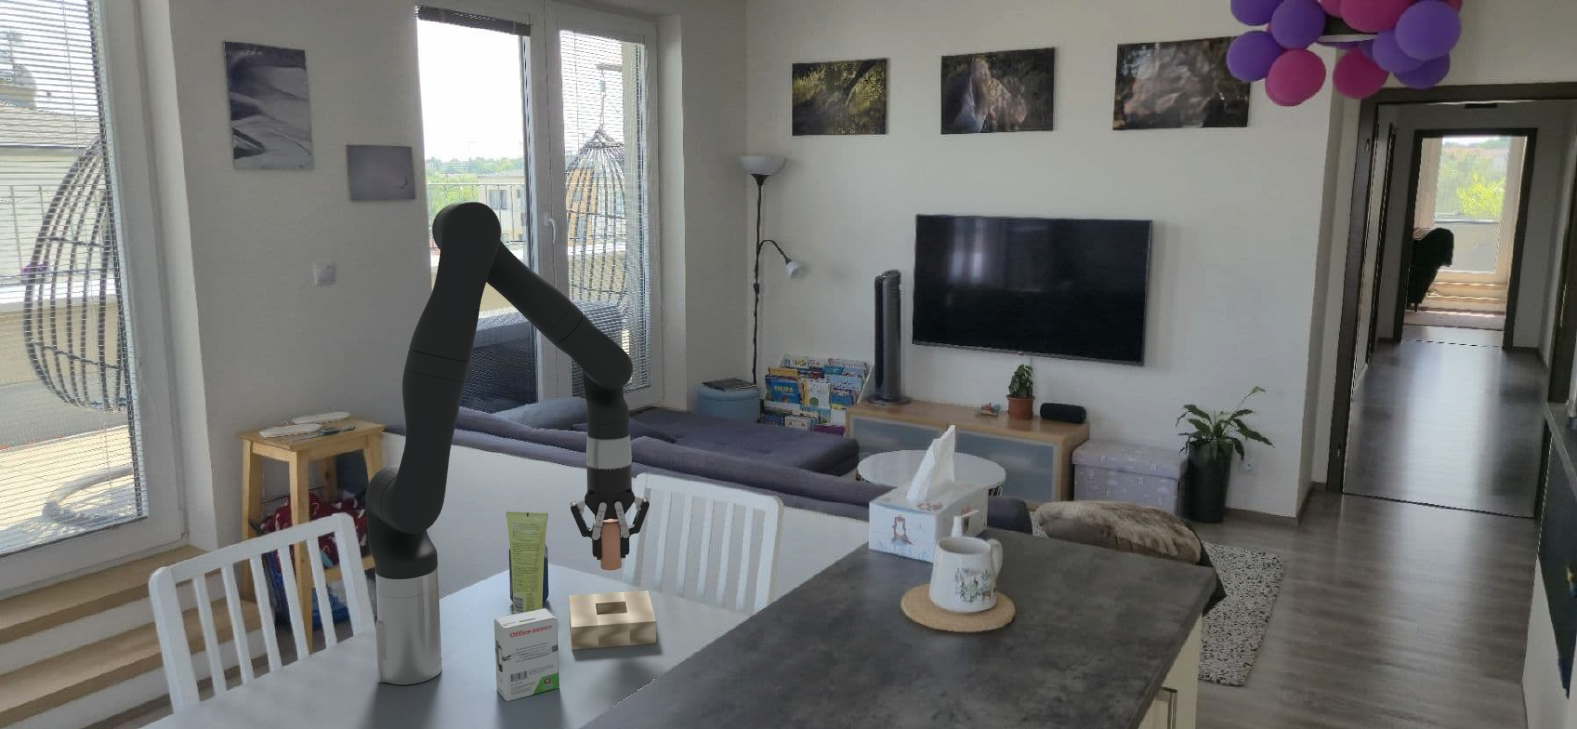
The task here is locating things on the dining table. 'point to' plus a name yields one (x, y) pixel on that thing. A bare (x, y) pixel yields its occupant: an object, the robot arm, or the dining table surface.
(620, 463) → the robot arm
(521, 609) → the tube
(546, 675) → the ink box
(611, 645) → the socket
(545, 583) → the soda can
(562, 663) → the dining table surface
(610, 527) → the peg
